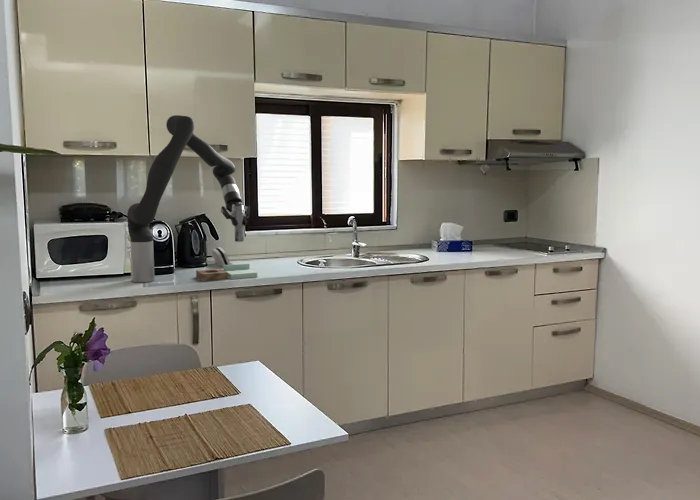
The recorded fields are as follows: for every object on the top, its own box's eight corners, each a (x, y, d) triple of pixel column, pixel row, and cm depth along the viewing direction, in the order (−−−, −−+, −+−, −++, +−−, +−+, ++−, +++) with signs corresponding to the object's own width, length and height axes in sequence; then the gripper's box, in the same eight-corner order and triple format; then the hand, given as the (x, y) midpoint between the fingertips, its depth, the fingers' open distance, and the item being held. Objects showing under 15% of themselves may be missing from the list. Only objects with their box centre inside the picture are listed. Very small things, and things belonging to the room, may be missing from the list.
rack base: (231, 279, 277) (231, 269, 276) (223, 274, 287) (223, 265, 287) (257, 276, 282) (257, 267, 282) (248, 272, 293) (248, 263, 292)
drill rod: (236, 241, 280) (235, 203, 278) (233, 240, 284) (232, 202, 281) (245, 241, 282) (244, 202, 279) (242, 240, 285) (241, 202, 283)
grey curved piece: (234, 267, 308) (226, 248, 306) (225, 270, 307) (217, 252, 304) (225, 262, 323) (218, 244, 320) (216, 265, 322) (209, 247, 319)
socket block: (202, 281, 271) (202, 274, 271) (196, 277, 281) (196, 270, 281) (227, 279, 277) (227, 272, 276) (220, 275, 286) (220, 268, 286)
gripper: (218, 190, 283) (226, 220, 274) (248, 190, 289) (257, 218, 281) (215, 201, 288) (223, 231, 279) (244, 201, 295) (253, 229, 286)
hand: (240, 224), depth 280 cm, fingers closed on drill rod, 4 cm apart
